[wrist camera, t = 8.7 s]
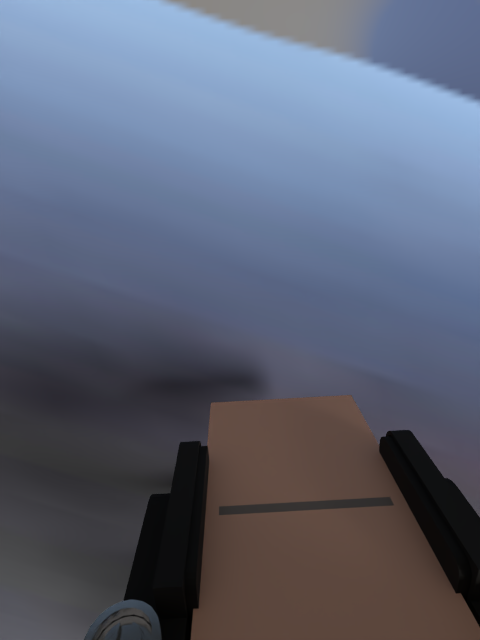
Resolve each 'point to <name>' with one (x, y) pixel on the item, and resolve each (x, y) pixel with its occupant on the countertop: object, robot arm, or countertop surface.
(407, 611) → the domino
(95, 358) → the countertop surface
